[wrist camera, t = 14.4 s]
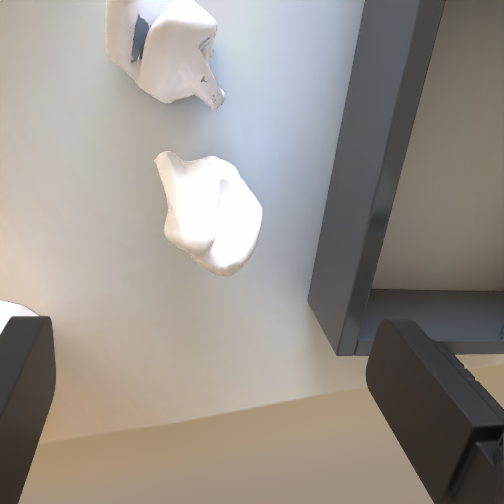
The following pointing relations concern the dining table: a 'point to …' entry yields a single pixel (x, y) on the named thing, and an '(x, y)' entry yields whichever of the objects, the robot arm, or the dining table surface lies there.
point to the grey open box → (386, 196)
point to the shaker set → (168, 163)
